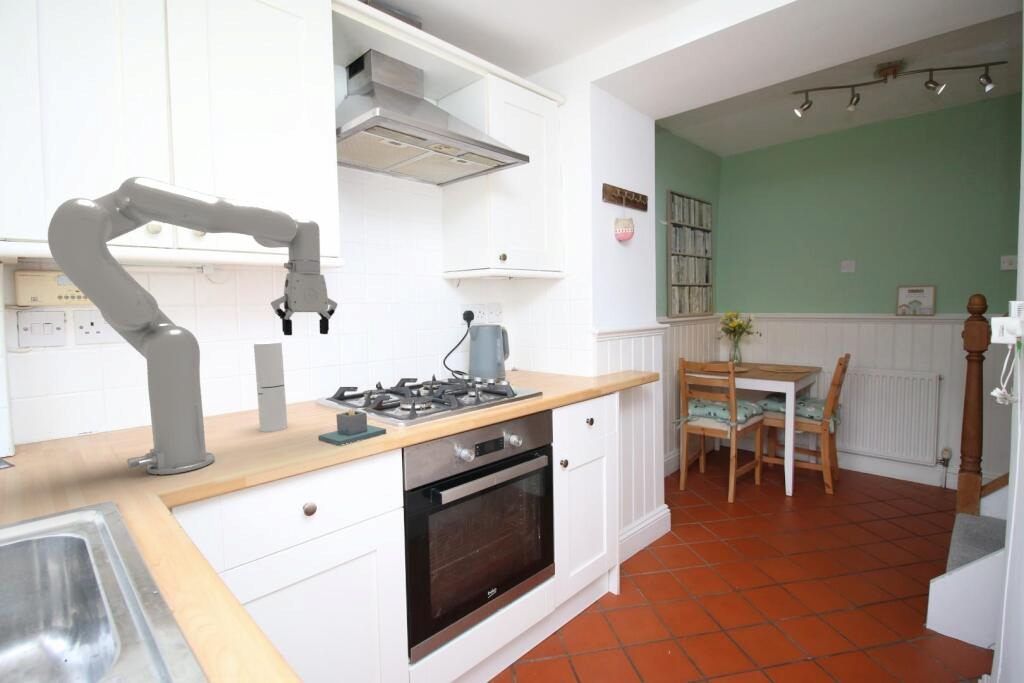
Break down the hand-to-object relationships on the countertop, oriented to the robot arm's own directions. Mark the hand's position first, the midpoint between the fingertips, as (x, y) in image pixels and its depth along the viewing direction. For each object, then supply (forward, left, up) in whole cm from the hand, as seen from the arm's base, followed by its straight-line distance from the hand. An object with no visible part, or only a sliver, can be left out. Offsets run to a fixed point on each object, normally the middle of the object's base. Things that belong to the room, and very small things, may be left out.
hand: (306, 334), depth 127 cm
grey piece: (-1, +20, -28) cm, 34 cm away
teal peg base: (+7, -8, -28) cm, 30 cm away
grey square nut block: (+7, -8, -27) cm, 28 cm away
